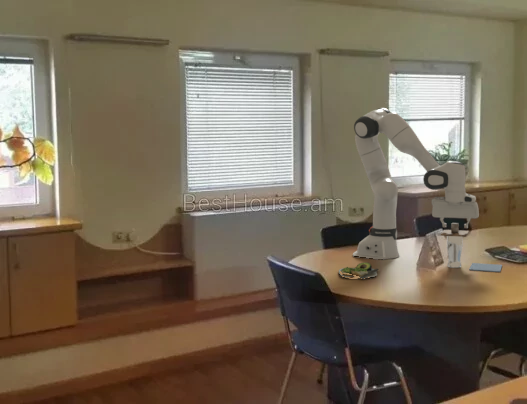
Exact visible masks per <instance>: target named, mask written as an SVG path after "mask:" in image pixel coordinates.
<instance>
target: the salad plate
mask: <svg viewBox="0 0 527 404" xmlns="http://www.w3.org/2000/svg"><path fill="white" fill-rule="evenodd" d="M340 271H341V272H342V273H349V274H352V275H356V276H359V277H360V278H362V279H363V280H365V279H364V278H368V277H374V278H376V277H377V276H378V273H377V272H378V271H379V268H373V267H372V264H371V263H370V262H361V263H358V264H357V265H356V266H355V267H348V266H346V267H342V268H340V269H339V270H338V272H339V273H338V275H339V274H340ZM340 275H341V274H340ZM340 275H339V276H340ZM341 276H344V277H349V275H341ZM341 276H340V277H341ZM375 276H376V277H375Z"/></svg>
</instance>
